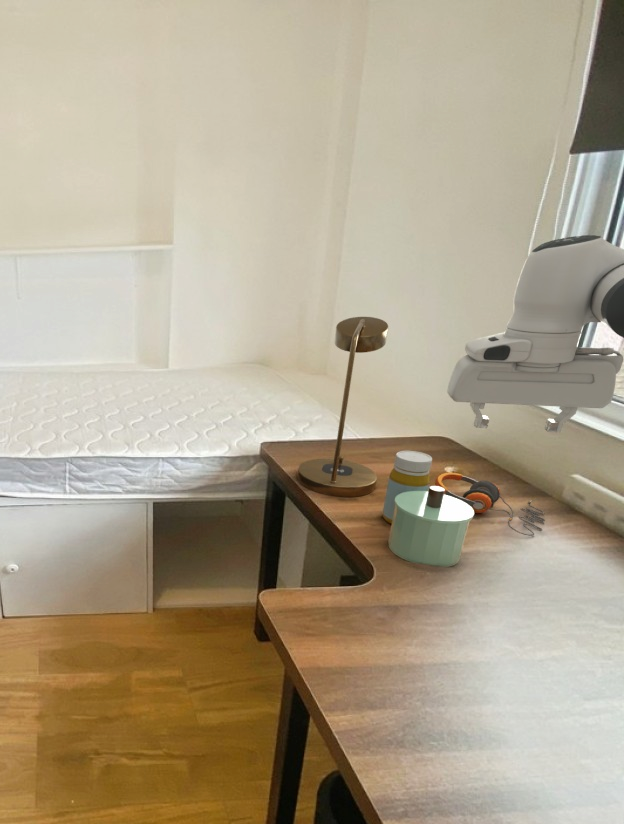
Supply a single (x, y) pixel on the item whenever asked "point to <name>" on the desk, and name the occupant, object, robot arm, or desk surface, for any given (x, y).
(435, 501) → the lid
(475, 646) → the desk surface
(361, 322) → the lamp
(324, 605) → the desk surface
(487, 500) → the headphones
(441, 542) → the canister
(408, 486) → the bottle
